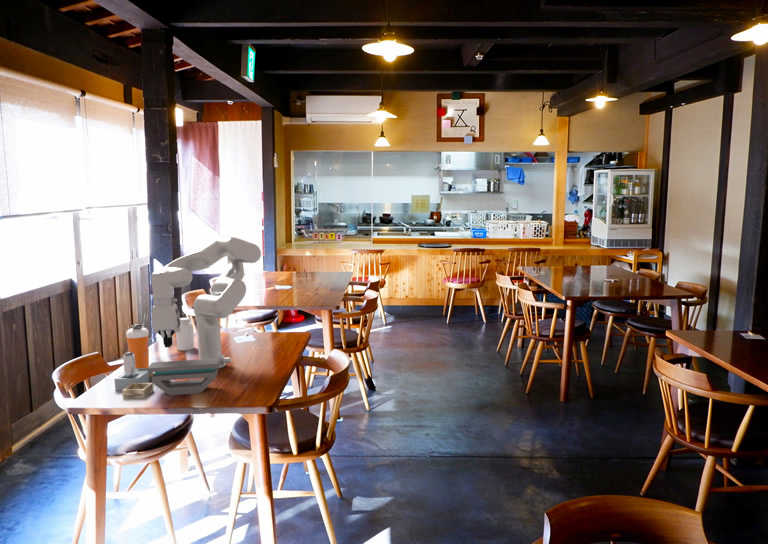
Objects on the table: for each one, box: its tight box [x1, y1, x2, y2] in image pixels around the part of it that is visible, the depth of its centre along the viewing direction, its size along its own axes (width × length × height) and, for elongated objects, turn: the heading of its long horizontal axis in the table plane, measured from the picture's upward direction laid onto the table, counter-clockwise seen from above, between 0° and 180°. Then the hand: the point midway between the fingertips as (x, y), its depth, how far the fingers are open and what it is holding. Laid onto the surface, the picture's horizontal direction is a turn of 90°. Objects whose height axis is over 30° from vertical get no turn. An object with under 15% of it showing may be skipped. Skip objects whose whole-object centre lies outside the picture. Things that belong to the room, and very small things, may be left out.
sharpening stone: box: [148, 358, 220, 396], centre depth 223 cm, size 25×8×11 cm, turn 100°
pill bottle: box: [175, 317, 195, 352], centre depth 285 cm, size 8×8×15 cm
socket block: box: [114, 368, 154, 391], centre depth 232 cm, size 9×14×4 cm, turn 178°
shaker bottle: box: [125, 323, 150, 368], centre depth 248 cm, size 9×9×20 cm
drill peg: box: [122, 351, 136, 378], centre depth 228 cm, size 4×4×14 cm
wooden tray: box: [121, 382, 154, 399], centre depth 221 cm, size 8×8×3 cm
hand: (168, 346), depth 236 cm, fingers closed
